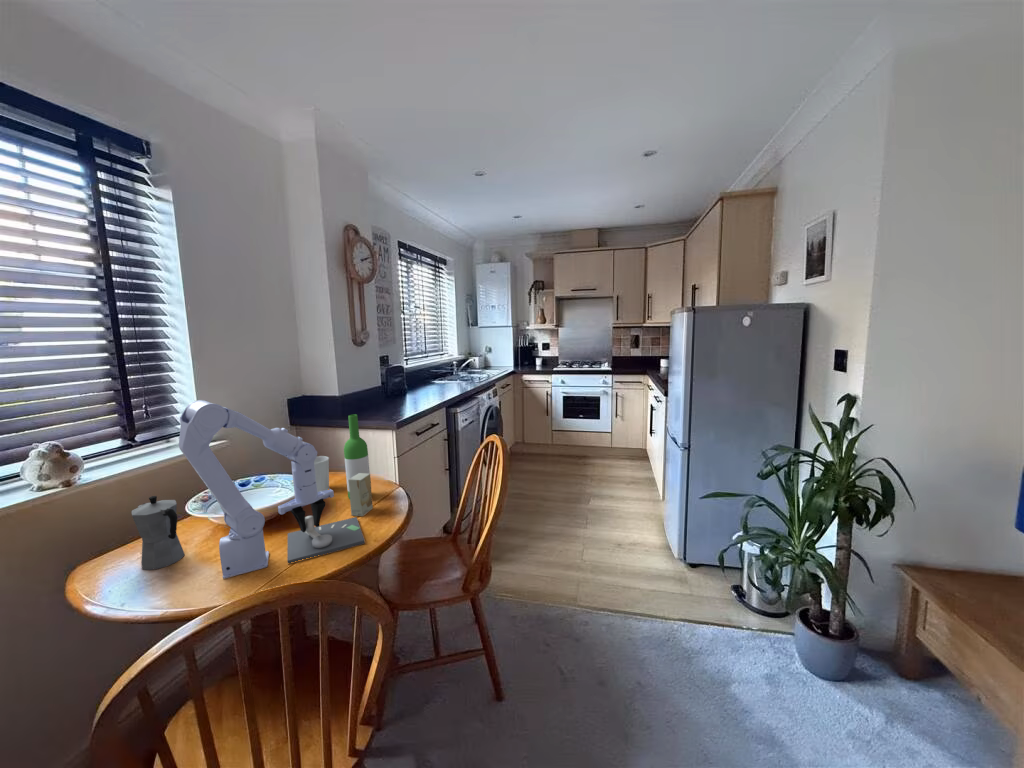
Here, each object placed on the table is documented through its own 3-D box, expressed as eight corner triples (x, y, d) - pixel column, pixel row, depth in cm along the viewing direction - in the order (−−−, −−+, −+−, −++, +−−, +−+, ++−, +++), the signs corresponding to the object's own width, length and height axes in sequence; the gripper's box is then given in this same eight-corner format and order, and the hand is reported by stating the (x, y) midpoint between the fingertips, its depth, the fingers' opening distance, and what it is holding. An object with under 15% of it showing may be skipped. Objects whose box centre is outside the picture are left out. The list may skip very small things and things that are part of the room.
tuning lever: (335, 542, 112) (333, 524, 111) (317, 550, 108) (315, 532, 107) (314, 527, 120) (312, 510, 120) (296, 533, 117) (294, 517, 116)
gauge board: (287, 564, 104) (287, 560, 104) (288, 536, 118) (287, 533, 118) (365, 543, 113) (364, 539, 113) (356, 519, 127) (356, 516, 127)
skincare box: (363, 516, 129) (359, 480, 127) (350, 515, 130) (347, 479, 128) (373, 507, 135) (370, 472, 133) (362, 506, 136) (358, 472, 134)
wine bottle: (343, 499, 143) (335, 416, 138) (363, 491, 149) (356, 411, 144) (356, 504, 138) (349, 418, 134) (376, 496, 144) (369, 414, 140)
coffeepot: (127, 564, 106) (115, 500, 103) (169, 546, 115) (159, 486, 112) (161, 577, 100) (150, 509, 97) (203, 557, 108) (193, 493, 106)
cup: (303, 494, 148) (299, 463, 146) (317, 485, 155) (314, 455, 154) (323, 495, 146) (319, 463, 144) (336, 486, 154) (333, 456, 152)
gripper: (324, 472, 122) (328, 514, 124) (271, 488, 111) (277, 533, 113) (335, 477, 117) (339, 521, 119) (281, 494, 107) (287, 542, 109)
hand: (310, 528), depth 116 cm, fingers open, 3 cm apart
